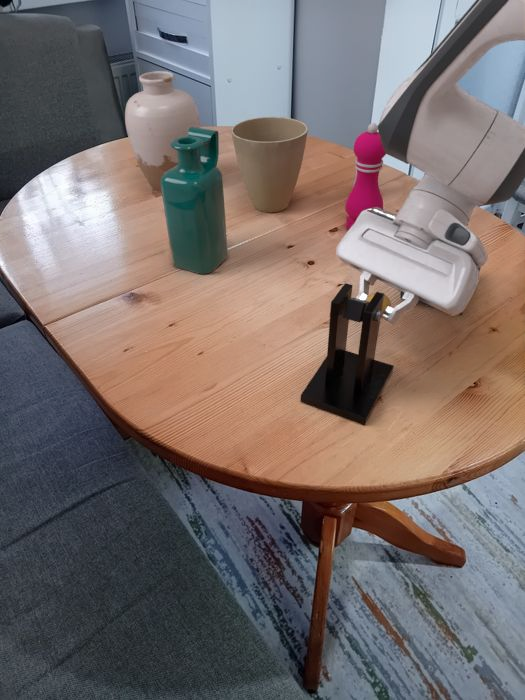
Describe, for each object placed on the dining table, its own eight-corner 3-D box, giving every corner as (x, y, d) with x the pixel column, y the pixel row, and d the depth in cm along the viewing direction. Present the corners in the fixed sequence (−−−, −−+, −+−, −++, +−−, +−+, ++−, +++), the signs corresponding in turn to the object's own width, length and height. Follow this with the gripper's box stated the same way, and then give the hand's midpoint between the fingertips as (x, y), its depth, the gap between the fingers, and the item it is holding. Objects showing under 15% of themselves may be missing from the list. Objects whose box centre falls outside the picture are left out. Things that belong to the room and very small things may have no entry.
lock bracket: (332, 353, 78) (340, 265, 68) (392, 372, 75) (409, 283, 65) (300, 402, 71) (303, 312, 61) (365, 425, 68) (379, 334, 58)
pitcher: (208, 277, 94) (195, 152, 80) (168, 266, 97) (148, 143, 83) (235, 251, 101) (228, 131, 86) (197, 241, 104) (183, 124, 89)
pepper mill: (341, 234, 104) (349, 129, 91) (345, 217, 110) (354, 115, 97) (379, 238, 103) (393, 131, 90) (381, 220, 108) (395, 117, 95)
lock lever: (364, 313, 77) (371, 289, 76) (389, 320, 76) (396, 296, 75) (335, 320, 64) (343, 291, 63) (363, 329, 63) (372, 299, 62)
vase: (176, 203, 116) (161, 90, 101) (122, 188, 123) (100, 80, 108) (219, 177, 126) (210, 70, 111) (166, 164, 133) (152, 62, 118)
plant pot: (318, 199, 116) (321, 123, 106) (281, 227, 107) (281, 147, 97) (260, 184, 123) (258, 111, 112) (221, 210, 113) (215, 133, 103)
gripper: (359, 193, 77) (308, 276, 78) (490, 243, 65) (429, 341, 66) (374, 212, 82) (327, 290, 83) (499, 262, 70) (442, 352, 71)
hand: (373, 313), depth 75 cm, fingers closed on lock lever, 3 cm apart
